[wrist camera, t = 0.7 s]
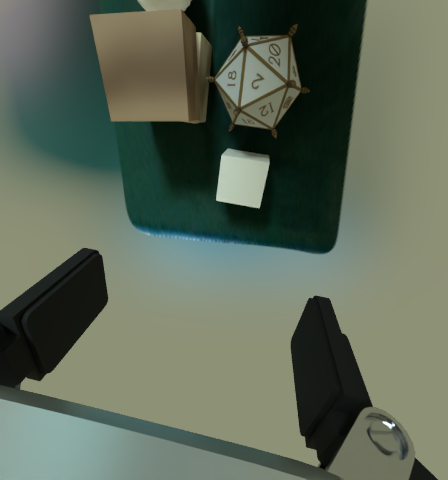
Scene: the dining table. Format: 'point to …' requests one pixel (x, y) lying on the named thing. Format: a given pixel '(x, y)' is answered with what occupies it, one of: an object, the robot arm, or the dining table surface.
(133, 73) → the walnut block
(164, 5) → the white rounded piece
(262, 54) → the game die
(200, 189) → the dining table surface
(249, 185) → the ivory cube
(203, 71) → the oak block
